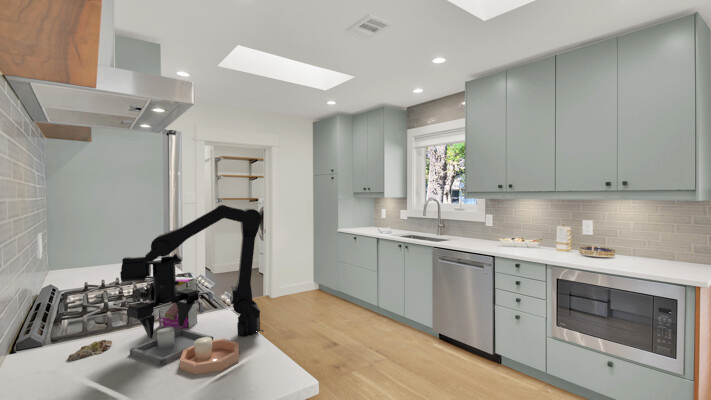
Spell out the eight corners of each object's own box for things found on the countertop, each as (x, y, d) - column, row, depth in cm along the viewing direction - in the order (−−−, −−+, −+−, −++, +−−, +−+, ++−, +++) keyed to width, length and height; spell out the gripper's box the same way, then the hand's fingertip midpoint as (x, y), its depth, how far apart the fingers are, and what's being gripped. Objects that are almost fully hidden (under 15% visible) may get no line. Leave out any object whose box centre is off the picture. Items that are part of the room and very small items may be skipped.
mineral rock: (99, 337, 106) (116, 334, 103) (103, 351, 106) (119, 348, 102) (57, 354, 96) (74, 351, 93) (61, 370, 96) (78, 367, 93)
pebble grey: (168, 341, 106) (167, 326, 106) (178, 343, 104) (177, 328, 103) (154, 346, 102) (153, 331, 102) (163, 349, 100) (163, 334, 100)
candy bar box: (158, 328, 117) (156, 279, 117) (168, 323, 122) (167, 275, 122) (188, 331, 115) (187, 280, 115) (198, 325, 120) (196, 277, 119)
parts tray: (182, 335, 112) (182, 328, 111) (213, 343, 105) (213, 336, 105) (130, 357, 97) (129, 349, 97) (162, 368, 91) (161, 360, 91)
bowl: (214, 346, 103) (214, 336, 103) (250, 356, 97) (249, 345, 97) (169, 368, 91) (169, 356, 91) (207, 381, 85) (206, 368, 84)
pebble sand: (204, 351, 98) (204, 336, 98) (216, 354, 96) (215, 338, 96) (191, 358, 94) (190, 342, 94) (202, 362, 92) (201, 345, 92)
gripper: (176, 269, 114) (177, 317, 115) (114, 283, 98) (116, 339, 98) (199, 272, 109) (200, 322, 109) (138, 287, 92) (140, 347, 93)
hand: (166, 331), depth 103 cm, fingers open, 9 cm apart
